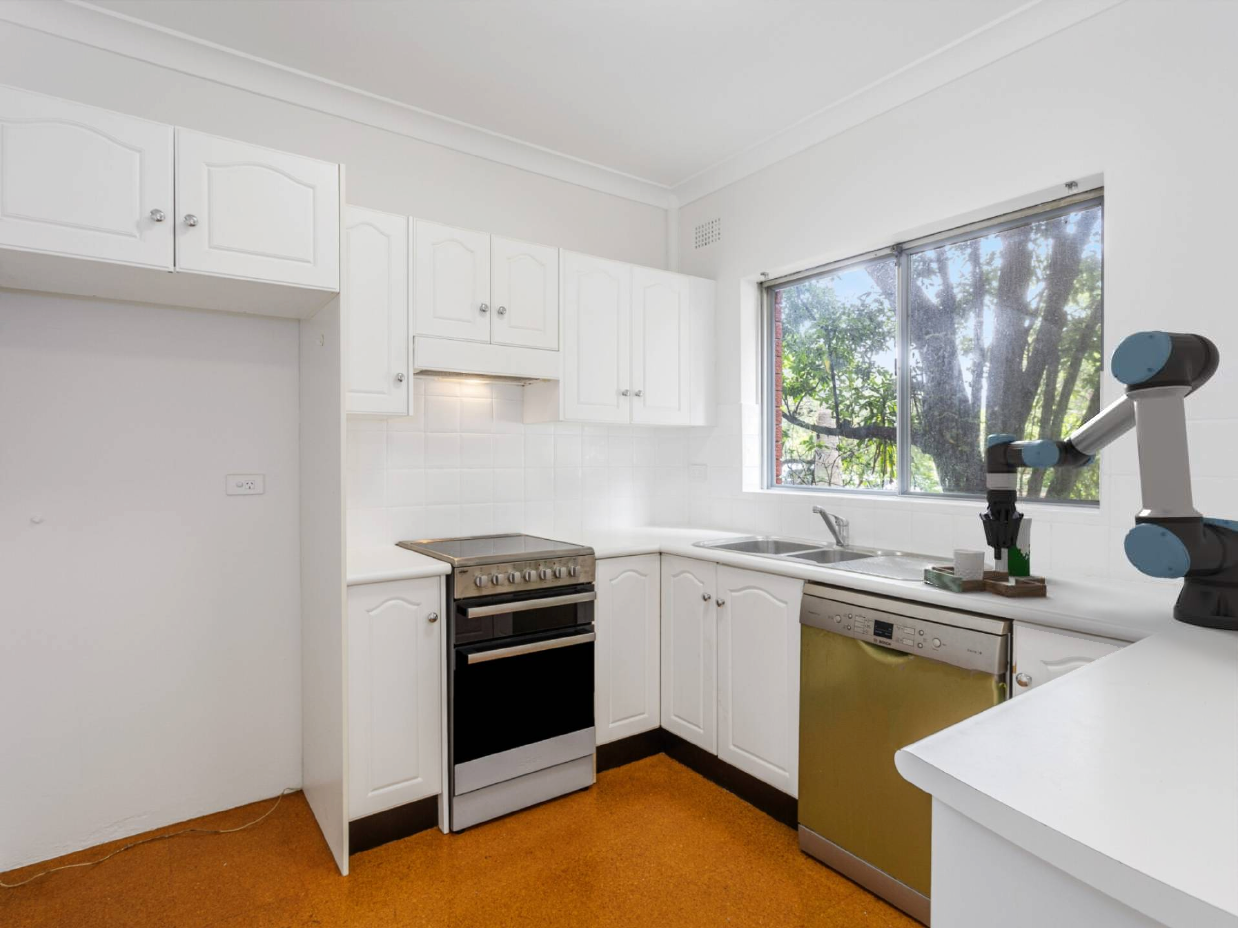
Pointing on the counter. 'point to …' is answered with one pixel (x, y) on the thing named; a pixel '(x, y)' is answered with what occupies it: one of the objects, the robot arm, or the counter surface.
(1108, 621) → the counter surface
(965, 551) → the white cup
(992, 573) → the wooden tray
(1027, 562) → the milk carton
